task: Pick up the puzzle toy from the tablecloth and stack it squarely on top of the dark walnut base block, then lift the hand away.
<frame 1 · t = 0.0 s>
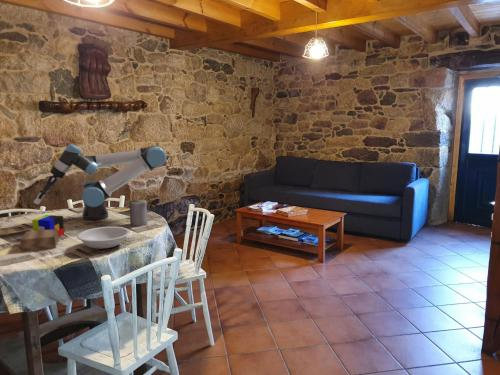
hand: (37, 200, 214), 15 cm above the table, tool tilted 35°, fingers open, 13 cm apart
soup bowl: (105, 246, 186), on the table
walnut base block: (41, 245, 187), on the table
puzzle toy: (49, 236, 201), on the table
pillar candle: (139, 224, 225), on the table
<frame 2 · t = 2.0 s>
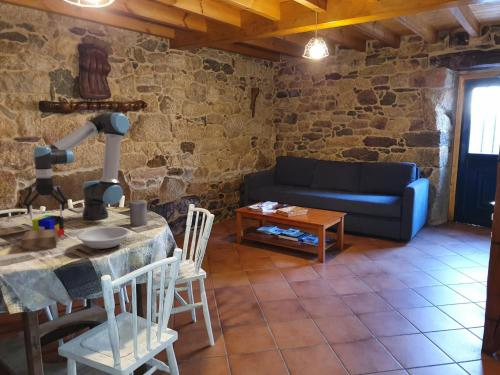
hand: (46, 217, 199), 10 cm above the table, tool pointing down, fingers open, 13 cm apart
puzzle toy: (49, 236, 201), on the table, touching gripper
everything else where it was.
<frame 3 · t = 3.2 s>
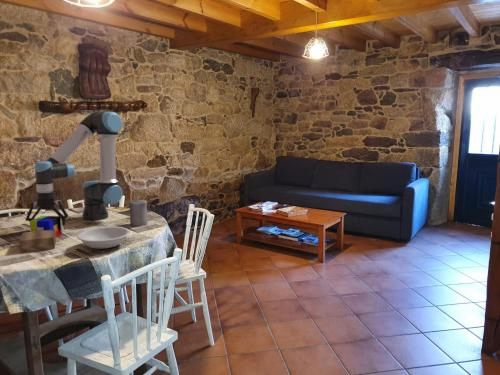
hand: (48, 232, 201), 2 cm above the table, tool pointing down, fingers closed on puzzle toy, 12 cm apart
walnut base block: (39, 246, 185), on the table
puzzle toy: (47, 237, 199), on the table, touching gripper
everything else where it was.
when the fingers open (9 cm above the table, at t = 9.1 s): puzzle toy drops 2 cm, resting on walnut base block.
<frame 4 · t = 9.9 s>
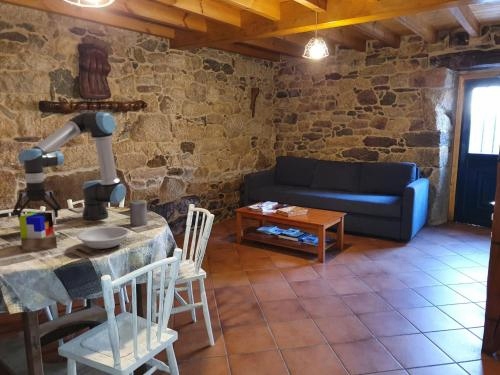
hand: (39, 225, 185), 10 cm above the table, tool pointing down, fingers open, 13 cm apart
walnut base block: (39, 247, 185), on the table, touching puzzle toy
puzzle toy: (37, 235, 184), point 5 cm above the table, touching gripper, walnut base block
everything else where it was.
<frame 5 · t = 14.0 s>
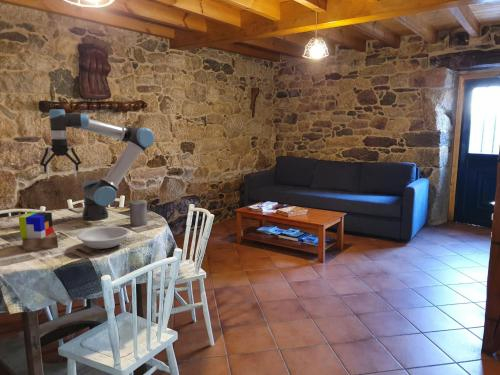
hand: (62, 177, 210), 29 cm above the table, tool pointing down, fingers open, 13 cm apart
puzzle toy: (37, 235, 184), point 5 cm above the table, touching walnut base block
everything else where it was.
at the end: puzzle toy inside the target area on the walnut base block (0.7 cm from its centre), point 5.8 cm above the walnut base block's base; puzzle toy tilted 0°; the gripper is holding nothing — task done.
